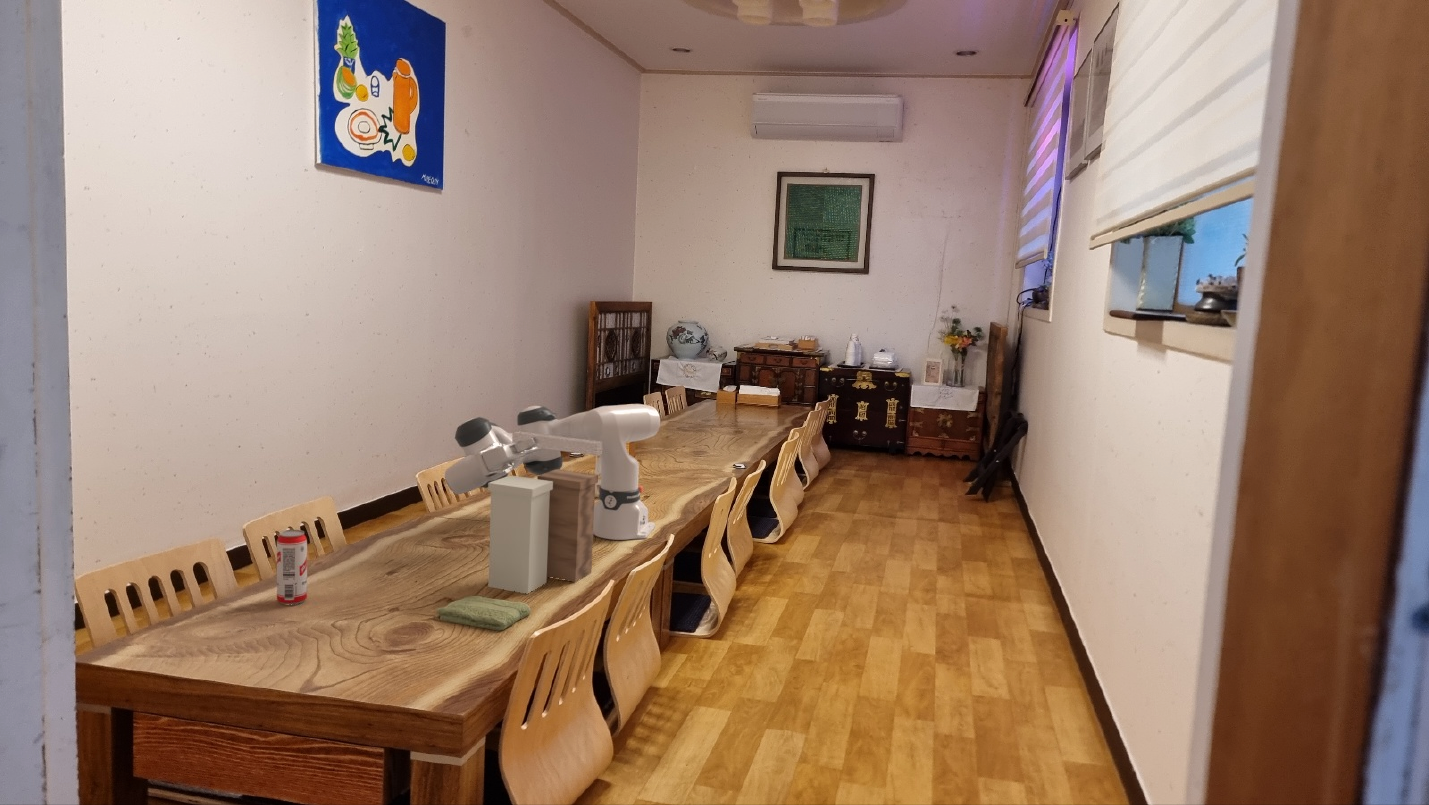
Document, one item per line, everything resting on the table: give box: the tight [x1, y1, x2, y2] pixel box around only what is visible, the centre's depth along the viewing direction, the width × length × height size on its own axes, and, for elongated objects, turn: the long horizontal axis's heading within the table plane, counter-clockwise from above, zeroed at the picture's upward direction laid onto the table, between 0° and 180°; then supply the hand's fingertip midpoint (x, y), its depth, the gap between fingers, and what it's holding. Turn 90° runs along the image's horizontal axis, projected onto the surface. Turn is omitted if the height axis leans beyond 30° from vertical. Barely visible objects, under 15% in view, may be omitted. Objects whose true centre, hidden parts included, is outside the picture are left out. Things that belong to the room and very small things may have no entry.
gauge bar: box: [511, 430, 602, 457], centre depth 243 cm, size 3×24×3 cm, turn 71°
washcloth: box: [436, 595, 532, 631], centre depth 214 cm, size 13×18×3 cm
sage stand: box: [487, 475, 553, 595], centre depth 234 cm, size 10×12×26 cm
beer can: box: [276, 529, 308, 606], centre depth 215 cm, size 6×6×16 cm
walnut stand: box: [536, 469, 598, 583], centre depth 245 cm, size 10×12×26 cm
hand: (538, 439), depth 244 cm, fingers closed on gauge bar, 3 cm apart
